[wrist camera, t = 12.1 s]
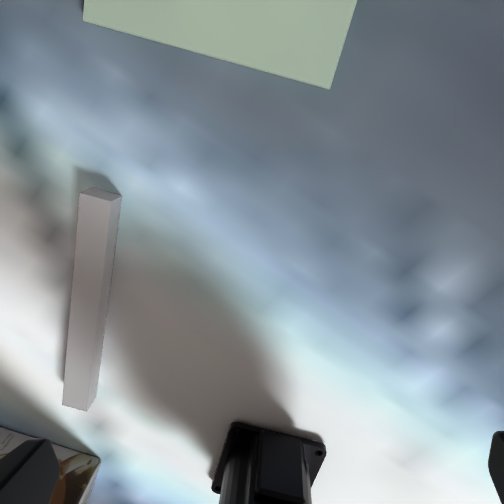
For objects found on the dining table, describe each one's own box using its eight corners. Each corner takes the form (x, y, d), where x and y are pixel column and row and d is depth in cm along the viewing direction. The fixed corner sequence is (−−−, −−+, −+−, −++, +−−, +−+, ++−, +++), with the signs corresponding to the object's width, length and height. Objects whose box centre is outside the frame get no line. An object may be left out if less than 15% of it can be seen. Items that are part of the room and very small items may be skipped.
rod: (98, 393, 25) (86, 411, 24) (75, 387, 25) (62, 404, 23) (124, 194, 20) (111, 201, 18) (95, 186, 20) (79, 192, 18)
